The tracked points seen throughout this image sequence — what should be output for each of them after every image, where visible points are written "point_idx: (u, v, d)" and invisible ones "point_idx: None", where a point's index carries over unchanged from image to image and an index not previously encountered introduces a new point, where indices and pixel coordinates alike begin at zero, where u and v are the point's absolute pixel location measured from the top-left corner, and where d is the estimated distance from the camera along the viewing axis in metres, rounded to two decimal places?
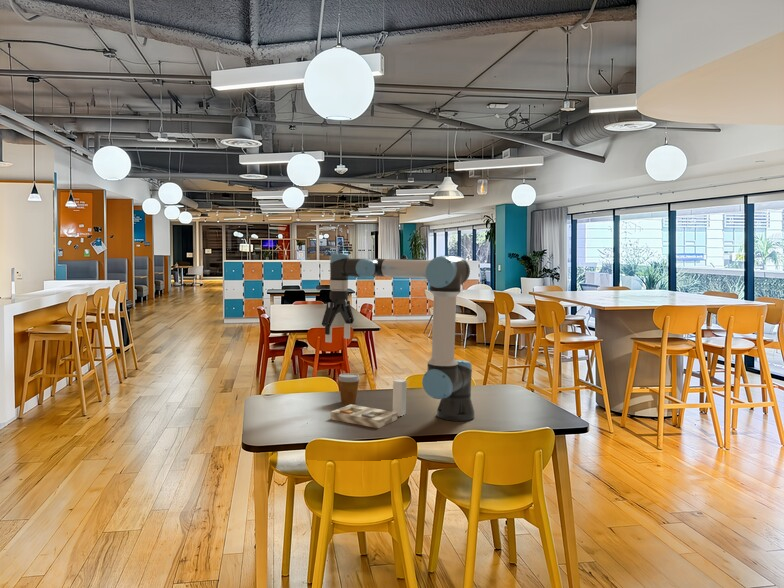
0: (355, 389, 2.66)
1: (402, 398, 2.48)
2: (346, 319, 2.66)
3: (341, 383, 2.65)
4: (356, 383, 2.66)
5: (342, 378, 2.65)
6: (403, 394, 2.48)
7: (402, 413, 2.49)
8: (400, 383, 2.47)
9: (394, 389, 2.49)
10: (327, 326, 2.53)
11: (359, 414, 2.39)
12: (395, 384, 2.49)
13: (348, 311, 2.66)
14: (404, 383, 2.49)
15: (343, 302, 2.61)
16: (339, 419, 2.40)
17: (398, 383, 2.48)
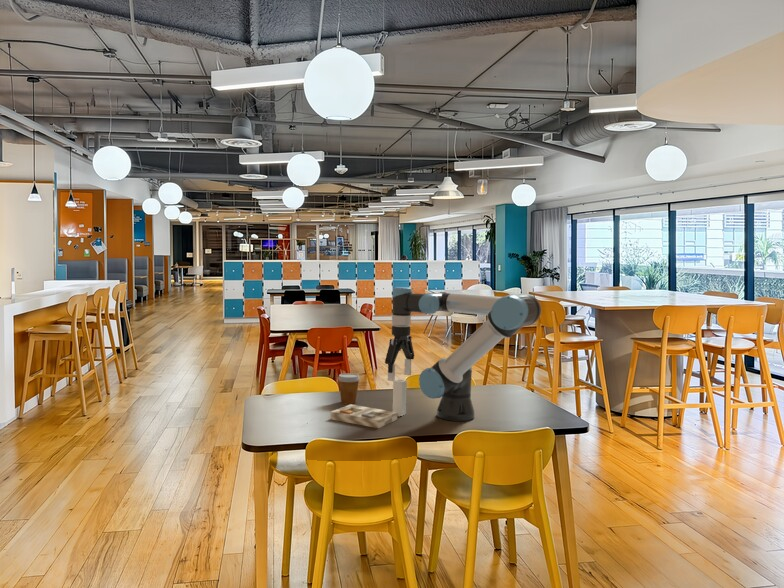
0: (355, 389, 2.66)
1: (402, 398, 2.48)
2: (407, 355, 2.54)
3: (341, 383, 2.65)
4: (356, 383, 2.66)
5: (342, 378, 2.65)
6: (403, 394, 2.48)
7: (402, 413, 2.49)
8: (400, 383, 2.47)
9: (394, 389, 2.49)
10: (390, 364, 2.42)
11: (359, 414, 2.39)
12: (395, 384, 2.49)
13: (409, 346, 2.55)
14: (404, 383, 2.49)
15: (405, 338, 2.50)
16: (339, 419, 2.40)
17: (398, 383, 2.48)
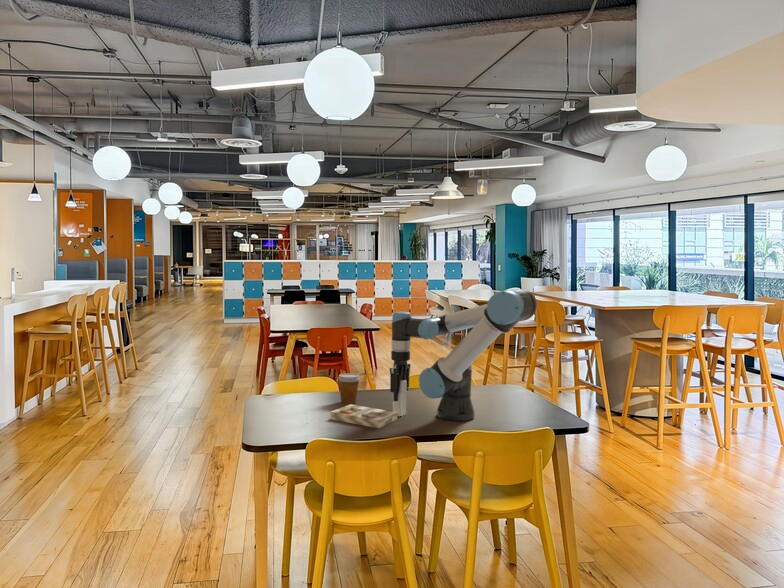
0: (355, 389, 2.66)
1: (402, 398, 2.48)
2: None
3: (341, 383, 2.65)
4: (356, 383, 2.66)
5: (342, 378, 2.65)
6: (403, 394, 2.48)
7: (402, 413, 2.49)
8: (400, 383, 2.47)
9: None
10: (396, 393, 2.46)
11: (359, 414, 2.39)
12: None
13: (406, 375, 2.53)
14: (404, 383, 2.49)
15: (405, 361, 2.51)
16: (339, 419, 2.40)
17: None
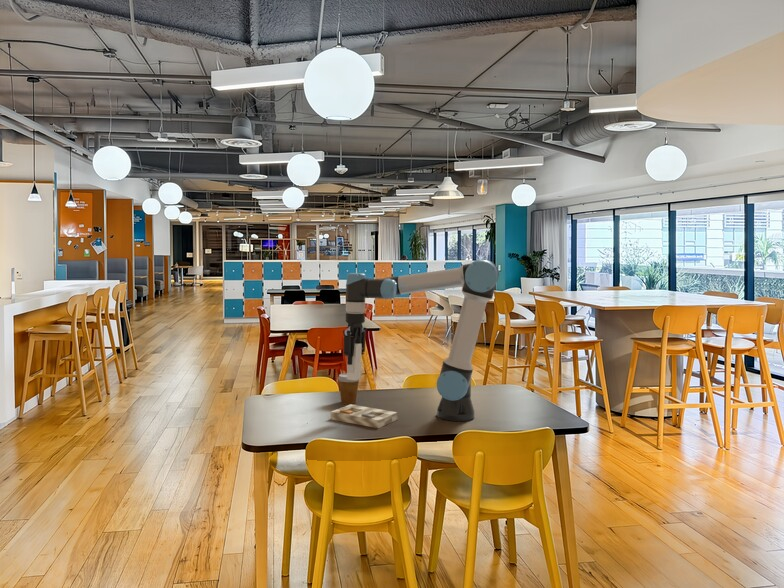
0: (355, 389, 2.66)
1: (356, 361, 2.41)
2: None
3: (341, 383, 2.65)
4: (356, 383, 2.66)
5: (342, 378, 2.65)
6: (357, 357, 2.42)
7: (356, 377, 2.42)
8: (354, 346, 2.41)
9: None
10: (350, 356, 2.39)
11: (359, 414, 2.39)
12: None
13: (362, 338, 2.47)
14: (359, 346, 2.42)
15: (360, 324, 2.44)
16: (339, 419, 2.40)
17: None
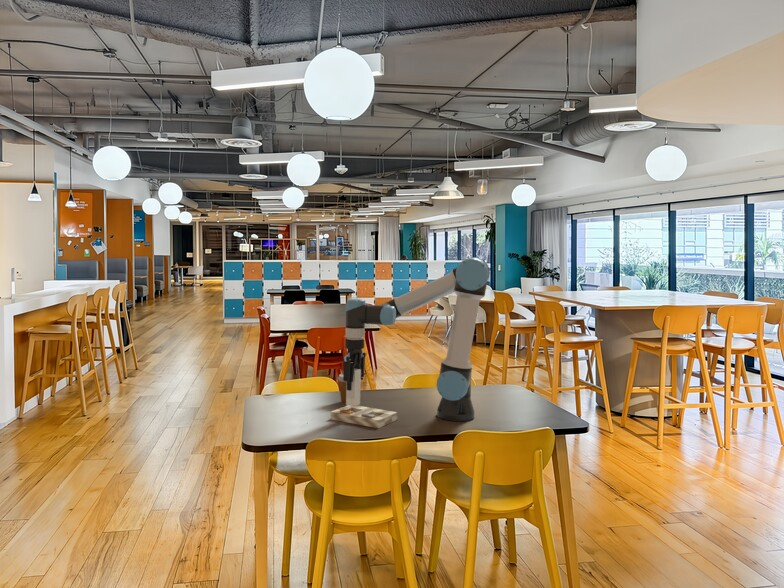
0: None
1: (356, 387, 2.42)
2: None
3: (341, 383, 2.65)
4: None
5: (342, 378, 2.65)
6: (356, 383, 2.42)
7: (356, 403, 2.43)
8: None
9: None
10: (349, 382, 2.40)
11: (359, 414, 2.39)
12: None
13: (361, 364, 2.47)
14: (358, 372, 2.43)
15: (360, 350, 2.45)
16: (339, 419, 2.40)
17: None
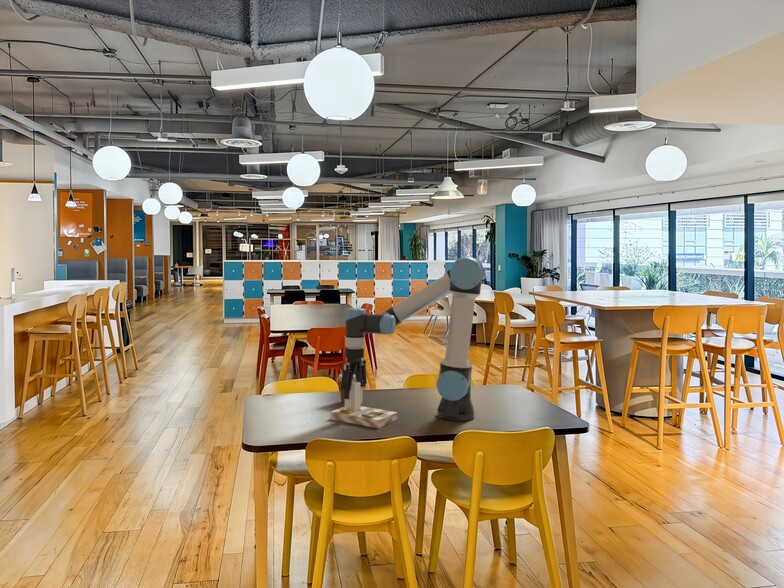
0: None
1: (355, 400, 2.42)
2: (359, 381, 2.47)
3: None
4: None
5: None
6: (356, 396, 2.43)
7: None
8: (353, 385, 2.41)
9: None
10: (347, 390, 2.39)
11: (359, 414, 2.39)
12: None
13: (362, 371, 2.48)
14: (357, 385, 2.43)
15: (359, 359, 2.45)
16: (339, 419, 2.40)
17: (351, 385, 2.42)
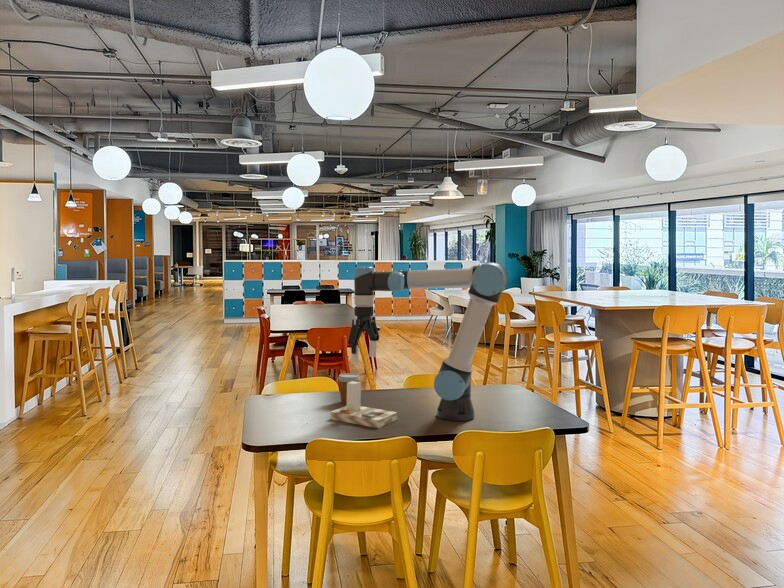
0: None
1: (356, 400, 2.43)
2: (372, 336, 2.49)
3: (341, 383, 2.65)
4: None
5: (342, 378, 2.65)
6: (356, 396, 2.43)
7: None
8: (354, 385, 2.42)
9: (348, 391, 2.43)
10: (353, 345, 2.37)
11: (359, 414, 2.39)
12: (349, 386, 2.43)
13: (373, 328, 2.50)
14: (358, 385, 2.43)
15: (369, 318, 2.45)
16: (339, 419, 2.40)
17: (352, 385, 2.42)
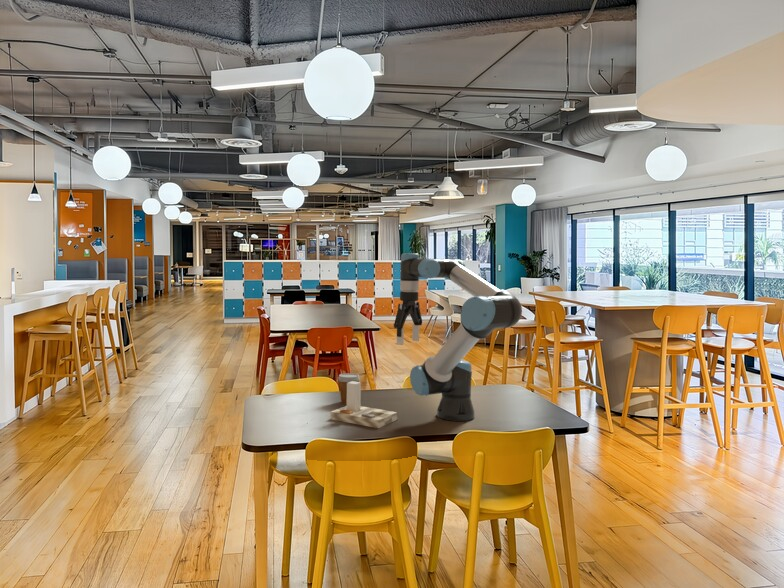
0: None
1: (356, 400, 2.43)
2: (415, 321, 2.58)
3: (341, 383, 2.65)
4: None
5: (342, 378, 2.65)
6: (356, 396, 2.43)
7: None
8: (354, 385, 2.42)
9: (348, 391, 2.43)
10: (399, 328, 2.46)
11: (359, 414, 2.39)
12: (349, 386, 2.43)
13: (417, 312, 2.59)
14: (358, 385, 2.43)
15: (413, 303, 2.54)
16: (339, 419, 2.40)
17: (352, 385, 2.42)
